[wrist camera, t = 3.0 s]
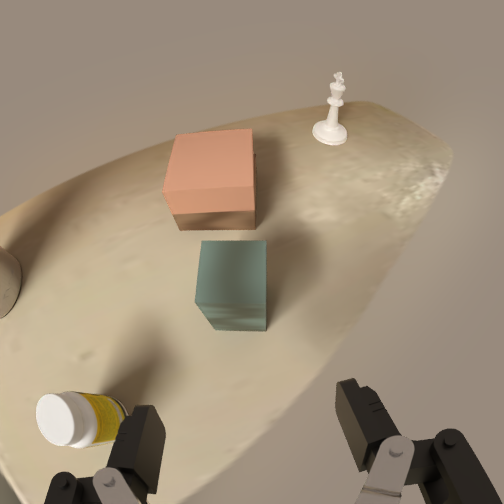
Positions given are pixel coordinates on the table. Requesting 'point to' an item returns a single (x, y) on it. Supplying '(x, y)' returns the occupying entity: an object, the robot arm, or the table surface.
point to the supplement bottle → (79, 418)
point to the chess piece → (332, 117)
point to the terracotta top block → (211, 172)
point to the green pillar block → (233, 284)
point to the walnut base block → (219, 218)
